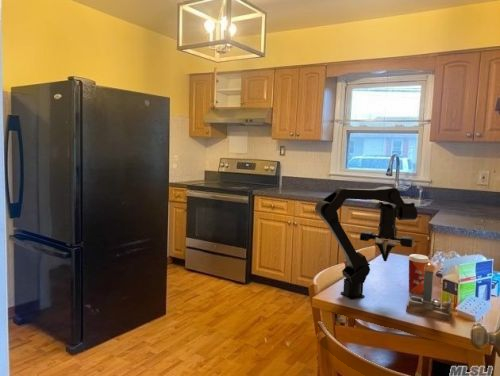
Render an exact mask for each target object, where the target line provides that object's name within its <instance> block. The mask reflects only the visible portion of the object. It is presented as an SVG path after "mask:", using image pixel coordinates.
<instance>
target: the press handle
mask: <svg viewBox="0 0 500 376" xmlns="http://www.w3.org/2000/svg"><path fill="white" fill-rule="evenodd" d="M424 269H425V273H424V287H423V294H422V297H421V298H422V300H421V303H426V304H430V305H433V306H434V307H438V308H441V305H442V302H441V301H440V300H439V301H438V300H434V299H433V291H434V289H433V288H434V276H435V275H434V274H435V271H436V270H435V266H434V265H433V264H432V263H428V264H426V265H425V267H424Z"/></svg>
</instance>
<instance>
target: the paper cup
mask: <svg viewBox="0 0 500 376" xmlns="http://www.w3.org/2000/svg"><path fill="white" fill-rule="evenodd" d="M407 259H408V291H409V292H410V293H412V294H417V295H421V294H422V295H423V287H424V273H425V269H424V267H425V265H426V264H430V257H428V256H427V255H425V254H419V253H417V254H416V253H413V254H412V253H411V254H409V256H408V258H407Z"/></svg>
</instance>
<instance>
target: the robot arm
mask: <svg viewBox="0 0 500 376" xmlns="http://www.w3.org/2000/svg"><path fill="white" fill-rule="evenodd" d="M346 200H373V201H379V202H378V203H376V205H374V208H376V209H379V221H378V222H379V224H378V229H377V231H378V234H375V232H374V231H371V230H370V231H369V230H363V231H362V232H360V235H359V240H360V241H364V242H368V241H370V240H375V242H374V245H376V246H377V248H378V249H379V251H380V254H381V257H382V260H383V262H387V261H388V259H389V256H390V254H391V252H392V250H393V248H395V247H396V246H398V244H400V245H401V246H402V247H405V248H413V246H415V238H414V237H413V236H407V235H402V236H401V237H397V236H398V232H399V231H398V230H399V229H398V227H397V224H396V223H397V222H396V221H397V220H398V221H415V220H416V219H418V214H419V213H418V209H417V207H416V206H415V202H412V201H409V202H405V201H404V200H403V198H402V197H401V193H400V190H399V189H398V188H396V187H391V186H385V185H384V186H380V187H376V188H350V187H349V188H348V187H347V188H345V187H337V189H335V190H334V191H333V192H332V193H330V194H329V195H327V196H326V197H324V198H323V199H322V200H319V201H318V202H317V203H316V204H315V206H314V211H315V214H317V216H318V217H319V218H320V219H321V220H322V222H323V223H325V224H326V225H327V227H328V228H329V230H330V232H331V234H332V235H333V237H334V238H335V240H336V242H337V244H338V246H339V247H340V249H341V250H342V253H343V254H344V256H345V262H346V264H347V266H345V268H344V269H341V270H342V271H341V273H342V276H343V277H344V279H343V291H340V294H341V295H343V296H345V297H347V298H348V299H350V300H355V299H361V298H365V296H366V295H364V292H363V291H364V284H365V282H366V279H367V276H369V274H370V271H371V268H370V267H371V264H370V263H369V262H368V260H367V258H366V255H364V254H362V253H361V252H359V251H357V250H356V249H355V247H354V245H353V244H352V242H351V240H350V238H349V237H348V235H347V233H346V231H345V229H344V228H343V226H342V225H341V223H340V219H339V214H338V210H340V208H341V207H342V205H343V204H344V202H345V201H346ZM393 205H394V206H393Z"/></svg>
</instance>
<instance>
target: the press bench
mask: <svg viewBox="0 0 500 376" xmlns="http://www.w3.org/2000/svg"><path fill="white" fill-rule="evenodd" d="M422 298H423V297H420V296H414V295H411V297H410V298H409V300H408V302H407V304H406V308H405V312H407V313H411V314H412V313H413V314H417V315H421V316H425V317H430V318H434V319H439V320H441V321H442V320H444V321H447V322H448V321H449V322H450V317H451V314H452V313H451V312H452V298H453V297H449V299H448V301H443V302H441V308H438V307H434V306H433V305H430V304H426V303H421V300H422Z"/></svg>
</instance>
